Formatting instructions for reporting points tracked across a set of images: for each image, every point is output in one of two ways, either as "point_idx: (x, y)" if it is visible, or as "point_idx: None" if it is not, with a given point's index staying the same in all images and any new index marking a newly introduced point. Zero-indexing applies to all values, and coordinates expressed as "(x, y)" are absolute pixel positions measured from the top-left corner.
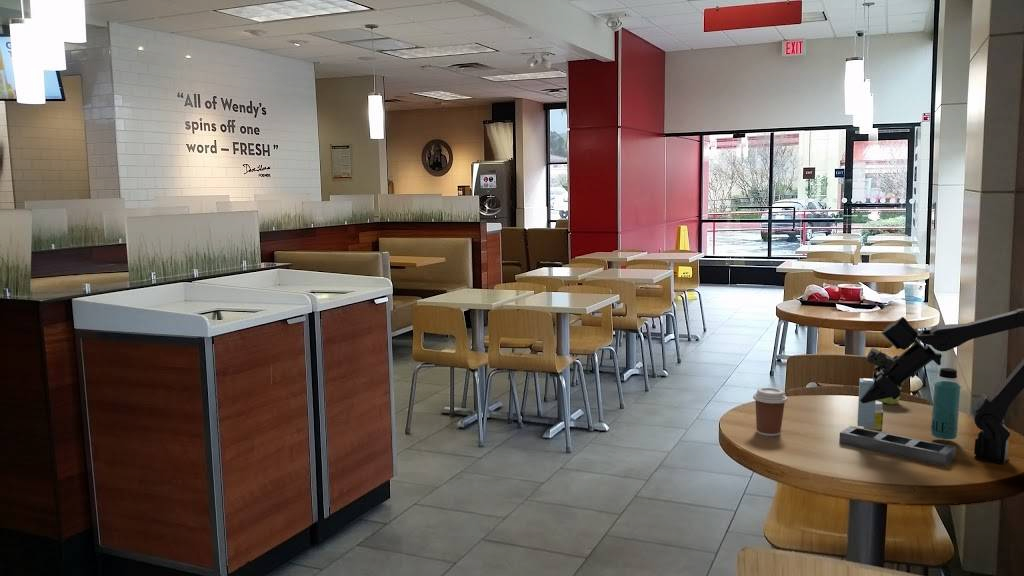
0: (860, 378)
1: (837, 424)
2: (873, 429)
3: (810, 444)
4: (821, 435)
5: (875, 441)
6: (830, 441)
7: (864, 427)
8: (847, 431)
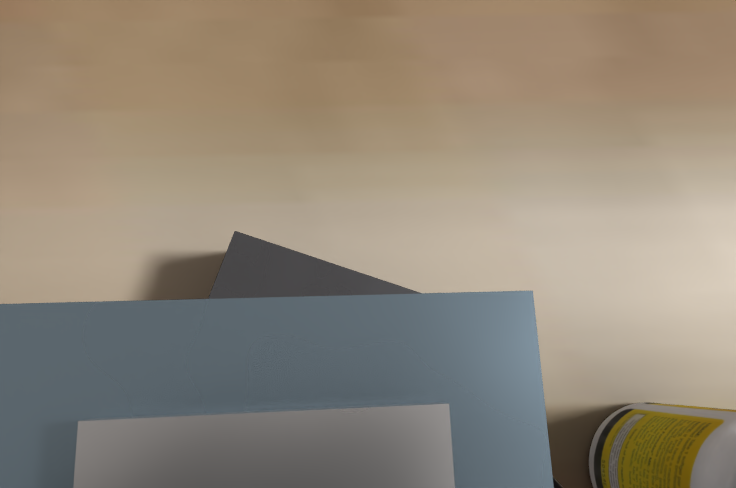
0: (519, 315)
1: (685, 229)
2: (602, 477)
3: (146, 80)
4: (380, 139)
5: None
6: (267, 195)
7: (634, 408)
8: (285, 286)
